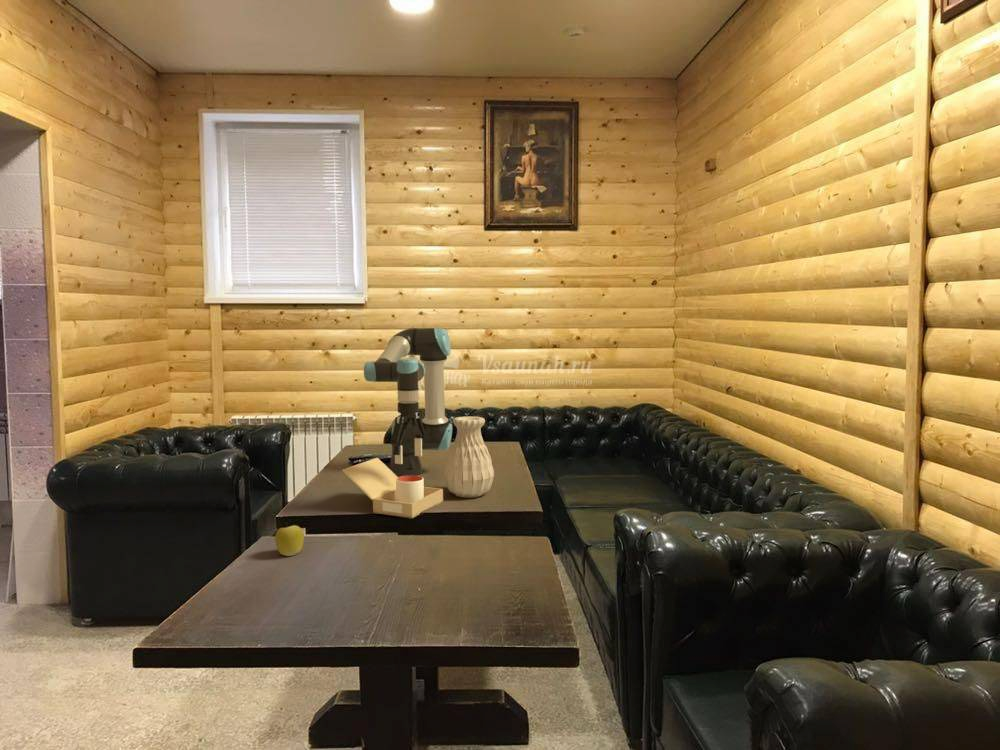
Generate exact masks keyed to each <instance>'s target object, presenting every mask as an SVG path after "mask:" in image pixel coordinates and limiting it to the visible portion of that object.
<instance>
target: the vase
mask: <svg viewBox="0 0 1000 750" xmlns="http://www.w3.org/2000/svg"><path fill="white" fill-rule="evenodd" d="M485 422H486V420H485V418H484V417H480V416H468V415H467V416H458V417H455V418H454V417H453V419H452V423H453V425H454V426H455V427H456V435H455V439H454V441H453V444H452V445H451V446H450V449H449V453H448V454H447V458H446V462H445V468H444V472H443V479H444V482H445V486H446V488H447V489H448V491H449V492H451V493H452V494H454V495H455V496H456V497H459V498H465V499H468V498H471V499H473V498H478V497H481V496H483V495H484V494H486V493H487V492H488V491H489V490H490V489H491V488H492V484H493V481H494V478H495V472H494V471H495V470H494V467H493V463H492V462H493V461H492V457H491V455H490V453H489V450H488V449H489V448H488V447H487V445H486V444H485V441H484V439H483V436H482V431H481V429H482V428H483V426H484V425H485Z"/></svg>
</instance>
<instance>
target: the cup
mask: <svg viewBox="0 0 1000 750" xmlns="http://www.w3.org/2000/svg"><path fill="white" fill-rule="evenodd" d="M397 477H398V478H396V502H404V503H414V502H416V501H418V500H420V499H422V498H424V487H425V485H424V483H425V482H424V480H425V479H424V478H425V477H422V476H420V475H413V476H397Z"/></svg>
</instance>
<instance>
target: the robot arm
mask: <svg viewBox="0 0 1000 750" xmlns="http://www.w3.org/2000/svg"><path fill="white" fill-rule="evenodd" d="M450 355H451V340H450V336H449V333H448V331H447V330H446V329H444V328H439V327H420V328H415V327H414V328H413V327H412V328H411V327H410V328H406V329H404V330H401V331H400V332H397V333H396V334H394V335H393V336H391V338H389V340H388V342H387V346H386V348H385V349H384V350H383V352H382V353H381V354H380V356H379V357H378V358H377V360H375V361H373V360H372V361H367V362H365V364H364V366H363V376H364V379H365V381H367V382H370V383H371V382H372V383H396V384H397V386H396V387H397V389H396V390H397V401H398V403H397V413H399V414H400V417H399V416H398V417H397V416H396V417H395V419H394V423H393V424H392V426H391V434H390V435H391V439H390V442H389V444H390V445H391V458H390V461H389V464H388V466H387V467H388V468H389V469H390V470H391V471H392V472H393V473H394V474H395V475H396V476H397V477H402V476H419V475H421V474H423V465H422V462H421V459H420V457H423V450H424V451H426V450H427V451H446V450H448V449H449V448H450V447H451V446H450V445H451V441H452V435H453V424H452V423H450V422H449V418H448V417H447V416H446V411H445V409H446V406H445V376H444V375H445V372H444V371H445V366H444V363H445V362H446V361H447V360H448V357H449V356H450ZM407 356H419V361H418V359H417V358H410V357H408V358H405V357H407ZM421 362H422V363H421ZM422 379H423V383H424V389H423V390H424V407H425V408H424V414H425V417H424V418H422V413H421V412H420V411H419V409H420V405H419V404H420V403H419V402H418V401H419V399H420V397H419V396H420V395H419V382H420V381H422Z"/></svg>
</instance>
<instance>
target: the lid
mask: <svg viewBox="0 0 1000 750" xmlns="http://www.w3.org/2000/svg"><path fill="white" fill-rule="evenodd" d="M388 467H389V466H387V465H386V464H385V463H384V462H383V461H381V460H380V459H379V458H378V457H376V458H372V459H369V460H366V461H363V462H361V463H360V462H359V463H358V464H355V465H352V466H349V467H345V468H343V469H342V470H341V472H343V473H344V474H345V475H346V477H348V478H349V479H350V480H351V481H352V482H353V484H355V485H356V486H357V487H358V489H360V490H361V491H362V492H363V493H364V494H365V495H366V496H367V497H368V498H369V499H370V500H371V501H373V499H374V498H376V497H379V496H381V495H383V494H386V493H388V492H390V491H393V490H395V489H396V478H398V477H399V476H396V475H395V474H394V473H393V472H392V471H391V470H390V469H389V468H388Z"/></svg>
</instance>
